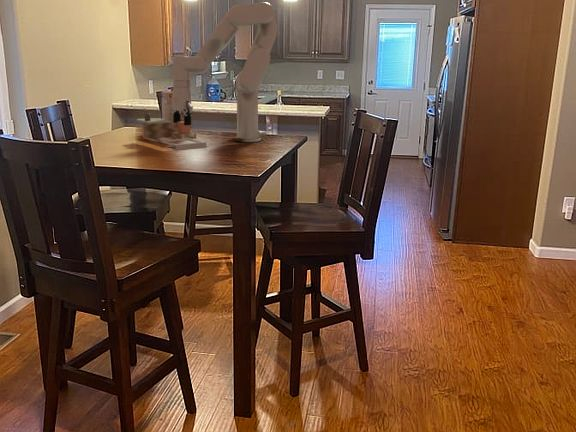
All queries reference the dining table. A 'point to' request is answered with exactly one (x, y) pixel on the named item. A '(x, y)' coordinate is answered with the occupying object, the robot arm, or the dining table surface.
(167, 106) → the cracker box
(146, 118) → the lid
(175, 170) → the dining table surface
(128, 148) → the dining table surface
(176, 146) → the tray
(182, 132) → the block
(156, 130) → the small wooden cabinet
